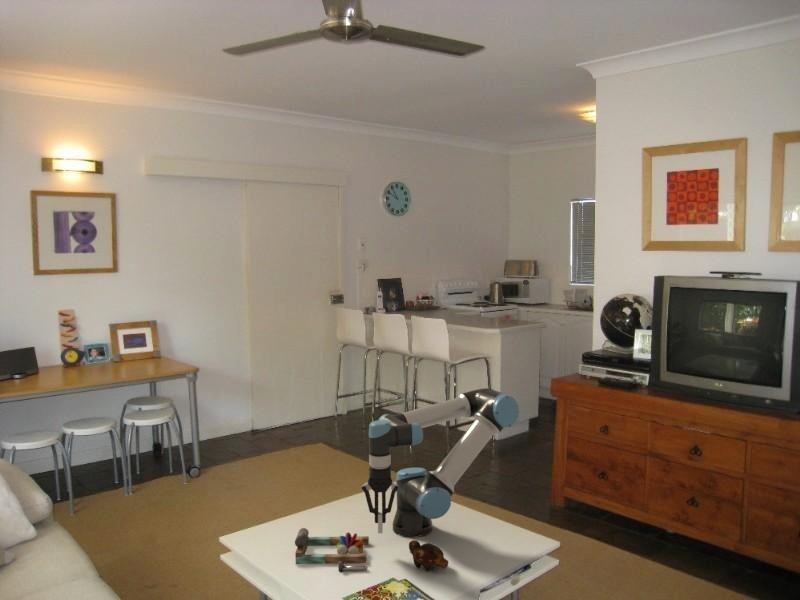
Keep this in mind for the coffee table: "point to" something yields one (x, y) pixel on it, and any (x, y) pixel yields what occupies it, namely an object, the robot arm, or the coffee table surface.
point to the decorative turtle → (427, 555)
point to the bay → (303, 558)
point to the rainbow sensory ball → (349, 544)
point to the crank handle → (350, 567)
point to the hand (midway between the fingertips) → (380, 531)
